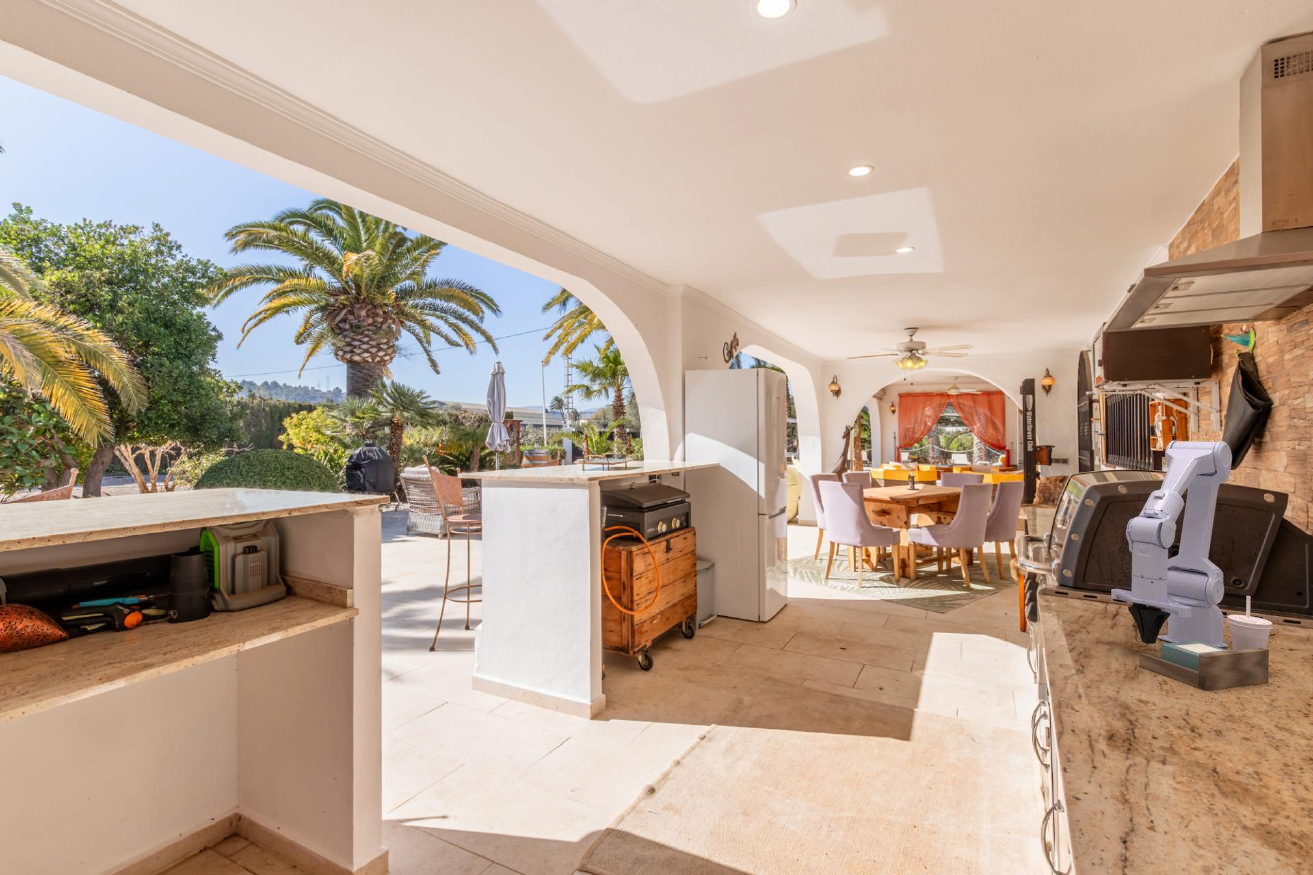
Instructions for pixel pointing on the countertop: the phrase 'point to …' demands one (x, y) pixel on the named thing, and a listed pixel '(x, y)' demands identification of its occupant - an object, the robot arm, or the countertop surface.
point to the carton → (1187, 653)
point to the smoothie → (1248, 630)
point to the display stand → (1216, 669)
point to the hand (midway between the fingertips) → (1148, 642)
